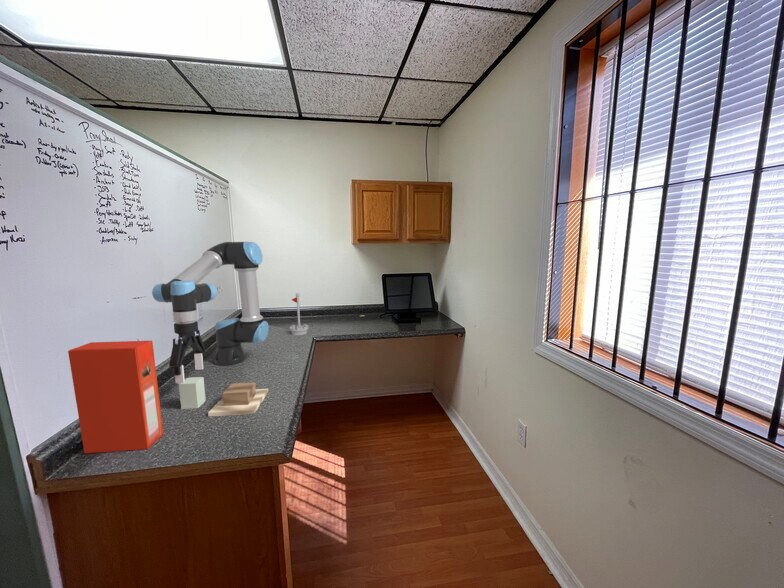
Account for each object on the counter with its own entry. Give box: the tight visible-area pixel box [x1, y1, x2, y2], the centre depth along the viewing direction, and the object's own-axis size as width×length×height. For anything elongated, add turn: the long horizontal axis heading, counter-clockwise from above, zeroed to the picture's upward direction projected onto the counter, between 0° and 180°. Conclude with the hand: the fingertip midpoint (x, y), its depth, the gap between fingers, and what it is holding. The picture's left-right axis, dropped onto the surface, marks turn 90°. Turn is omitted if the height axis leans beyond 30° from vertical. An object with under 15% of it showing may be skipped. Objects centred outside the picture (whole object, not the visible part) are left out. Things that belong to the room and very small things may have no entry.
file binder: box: [67, 340, 164, 454], centre depth 93 cm, size 8×17×32 cm, turn 97°
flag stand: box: [289, 292, 309, 336], centre depth 223 cm, size 13×13×30 cm
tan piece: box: [207, 381, 269, 417], centre depth 120 cm, size 18×16×6 cm
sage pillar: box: [178, 376, 206, 410], centre depth 119 cm, size 6×6×10 cm
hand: (190, 375), depth 118 cm, fingers open, 13 cm apart
